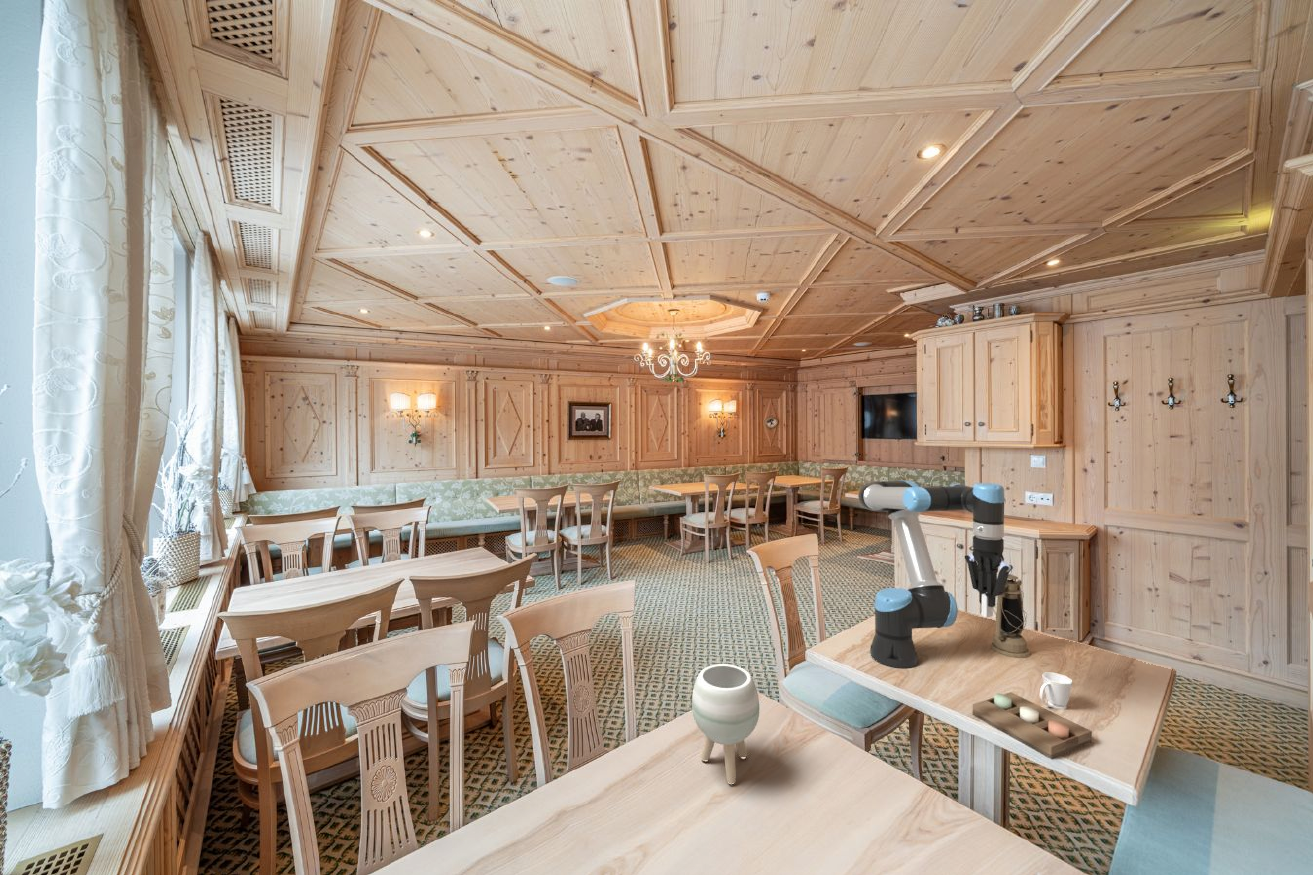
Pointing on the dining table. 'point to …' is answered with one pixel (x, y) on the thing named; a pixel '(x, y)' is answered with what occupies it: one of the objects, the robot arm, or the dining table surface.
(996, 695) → the pale green egg
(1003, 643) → the lantern
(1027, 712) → the white egg
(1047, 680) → the cup
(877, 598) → the robot arm
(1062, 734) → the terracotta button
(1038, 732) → the wooden egg tray
